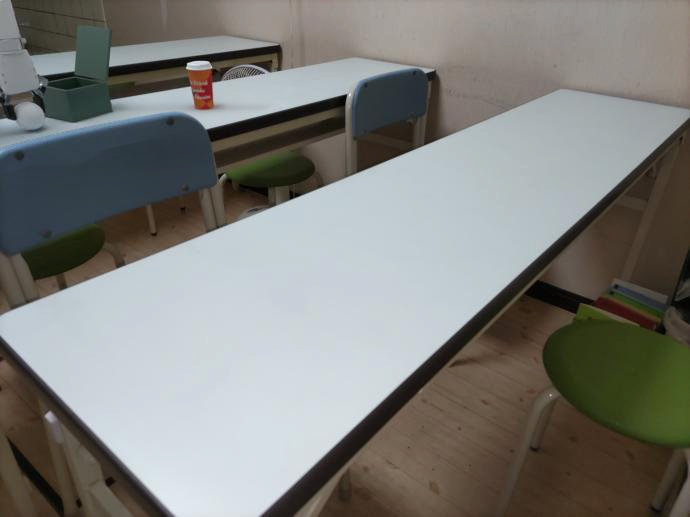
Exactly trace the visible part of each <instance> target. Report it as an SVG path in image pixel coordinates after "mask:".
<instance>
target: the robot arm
mask: <svg viewBox="0 0 690 517" xmlns="http://www.w3.org/2000/svg"><path fill="white" fill-rule="evenodd" d="M27 43H28V41H27V40H26V38H25V37H22V35H21V33H20V28H19V25H18V21H17V18H16V14H15V11H14V7H13V3H12V0H0V105H1V107H2V110H3V112H4V113H3V114H4V115H5V116H4V117H6V118H7V120H9V121H14V122H15V120H17V118H16V114H15V111H14V108H15V107H14V105H13V104H11V101H12V100H11V99H12V96H13V95H17V94H21V93H27V92H30V93H31V94H32V95H33V96H32V97H31V98H32V103H35V104H36V105H38V106H39V107H40V108H41V109H42V110H43V112H44V113H46V111H45V105H44V102H43V97H44V93H45V91H46V87H47V84H48V82H49V79H48V78H46V77H45V76H42V75H40V74H39V73H37V69H36V67H35V64H34V62H33V60H32V57H31V55H30V53H29V52H28V50H27V49H25V45H26V44H27Z"/></svg>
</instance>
